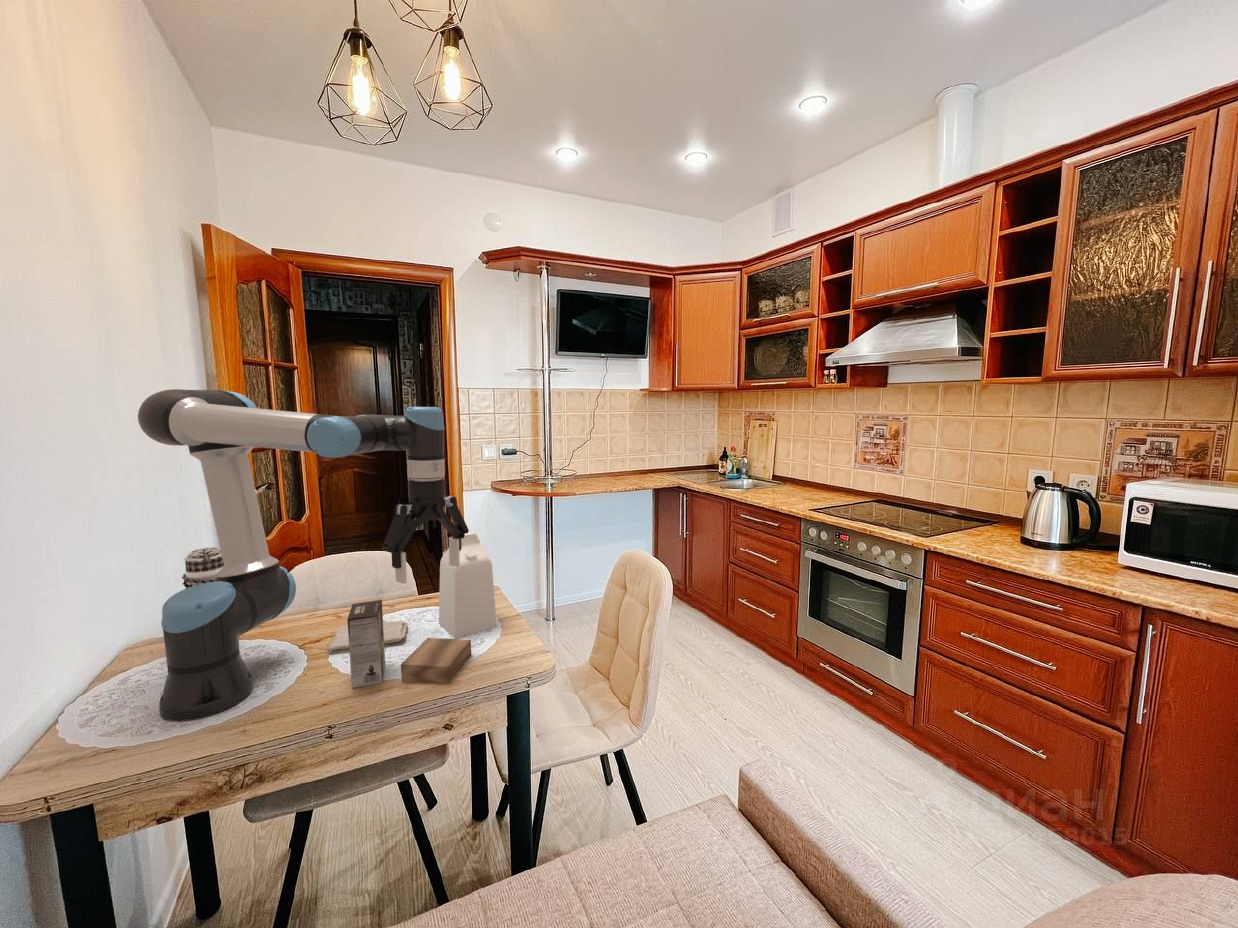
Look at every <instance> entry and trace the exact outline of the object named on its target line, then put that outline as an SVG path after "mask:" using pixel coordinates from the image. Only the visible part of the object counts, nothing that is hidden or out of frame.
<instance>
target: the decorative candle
mask: <svg viewBox="0 0 1238 928" xmlns="http://www.w3.org/2000/svg"><path fill="white" fill-rule="evenodd" d="M183 561H184V564H185V572H184V573H183V574H182V577H181V579H182V580H183V582H182V585H183V586H184V587H185V589H187V588H189V587H192V586H199V585H201V584H203V583H208V582H217V581H218V577H217V574H218V573H219V572H220V570H221V569H222V568H223V566H224V563H223V559H222V554H221V550H220V548H218V547H205V548H204V547H203V548H199V549H198V548H197V549H195V550H192V551H190V553H188V554H187V556H186V557H184V558H183Z"/></svg>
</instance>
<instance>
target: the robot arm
mask: <svg viewBox="0 0 1238 928" xmlns="http://www.w3.org/2000/svg"><path fill="white" fill-rule="evenodd" d="M404 414H405V415H391V414H388V415H385V414H373V413H370V414H366V413H365V414H359V415H355V416H349V415H348V416H347V415H346V416H344V415H331V414H320V413H319V414H318V413H309V412H298V411H288V410H280V409H279V410H277V409H267V408H259V407H257V406H256V403H254V402H253V401H252V400H251V399H249V398H248V397H246V396H245V395H244V394H241V393H239V392H235V391H227V390H223V389H217V390H216V389H182V388H181V389H179V388H178V389H175V388H174V389H165V390H161V391H158V392H155V393H153V394H150V395H149V396H148V397H147V398H146V399H144V401H143V402H142V403H141V405H140V406H139V409H138V412H137V421H138V424H139V427H140V429H141V430H142V432H143V434H145V435H146V436H147V437H149V439H152V441H155V442H157V443H160V444H163V445H166V446H182V447H183V446H187V447H188V451H189V455H190V456H192V457H193V458H196V459H197V460H198V461H199V462H200V464H201V465H200V466H201V468H202V473H203V477H204V478H203V479H204V483H205V487H206V491H207V496H208V499H209V500H208V501H209V504H210V505H209V506H210V509H211V513H212V518H213V522H214V526H215V531H216V537H217V541H218V544H219V549H220V550H221V554H222V559H223V563H224V566H223V568H222V569H221V570H220V572H219V573H218V574H217V577H218V581H217V582H208V583H203V584H201V585H199V586H192V587H189V588H187V589H182V590H179V591H178V592H176V593H174V594H173V595H171V596H170V597H168V598H167V600H166V601H165V602H164V603H163V605H162V609H161V610H162V611H161V613H162V614H161V615H162V617H161V623H160V624H161V628H162V633H163V641H164V649H165V658H166V660H165V661H166V668H167V674H166V679H165V682H164V686H163V689H162V690H163V693H162V695H161V696H160V699H159V701H158V707H159V715H160V717H161V718H162V719H164V720H168V721H172V722H173V721H174V722H177V721H178V722H182V721H191V720H196V719H201V718H204V717H208V716H209V717H210V716H212V715H215V714H218V713H220V712H223V711H225V710H228V709H229V708H233V706H236V705H237V704H239V703H240V702H241V703H242V701H243V700H245V699H246V698H247V697H248V696H249V695H250V694H251V693H252V691H253V690H254V684H253V683H254V682H253V676H252V674H251V672H249V670H248V667H247V665H246V664H245V662H244V659H243V658H242V656H241V652H240V642H239V641H240V639H239V637H240V636H242V635H244V634H246V633H247V632H249V631H250V632H251V630H253V629H255V628H257V627H258V626H260V625H261V626H262V624H264V623H266V622H270V621H271V620H273V619H276V618H277V617H278V616H279V615H281V614H282V613H284V612H285V611H287V610H288V609H289V608H290V606H291V605H292V603H293V602H294V601H295V600H294V599H295V597H296V592H297V585H296V580H295V578H294V576H293V574H292V573H291V572H288V569H287V568H286V567H284V566H281V565H280V561H279V559H278V558H275V557H273V556H272V555H270V552H269V546H268V542H267V537H266V532H265V528H264V524H263V519H262V514H261V509H260V505H259V500H258V497H257V490H256V487H255V482H254V477H253V471H252V468H251V463H250V458H249V454H250V453H251V451H252V450H253V449H254V448H261V449H262V448H265V449H272V450H273V449H275V450H286V451H293V452H294V451H295V452H307V453H315V454H316V455H319V456H320V457H323V458H329V459H330V458H336V459H337V458H345V457H348V456H353V455H359V454H364V453H373V452H378V451H379V452H380V451H406V456H407V457H406V458H407V477H408V478H409V480H408V481H407V488H408V489H407V491H408V492H407V493H408V497H409V503H408V504H401V503H397V504H396V505H395V506H394V507H395V509H394V515H393V519H392V521H391V524H390V526H389V529H388V531H387V534H386V536H385V538H384V541H383V544H382V546H381V550H382V551H384V552H387V553H391V566H392V568H393V569H395V582H397V583H400V584H407V583H408V582H407V581H408V580H407V553H406V552H404V551H403V550H404V549H405V547H406V546H407V544H408V543H409V541H410V540H411V538H412V536H413V535H414V534H415V532H416V530H417V528H418V527H420V526H421V524H422V523H428V522H430V521H438V522H439V524H441V525H442V526H443V527H444V529H445V530H446V531H448V533H449V534H450V535H451V536H450V537H448V548H449V565H452V566H455V567H459V566H460V561H459V551H461V538H464V537H465V534H468V533H470V532H469V531H470V530H469V527H468V526H467V524H466V521H465V519H464V517H463V514H462V513H461V511H460V509H459V506H458V499H457V497H456V496H451V495H446V479H444V477H445V475H446V470H445V469H446V465H445V464H446V463H445V462H446V461H445V429H446V428H445V425H444V422H445V421H444V412H443V410H442V409H441V408H440V407H439V406H438V407H436V406H408V407H407V408H406V410H405V413H404ZM445 495H446V496H445ZM444 507H446V509H447V511H448V513H449V516H450V517H451V519H450V517H449V516H448V514H447V513H446V511H445V510H444ZM408 515H409V516H408ZM407 516H408V517H407Z"/></svg>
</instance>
